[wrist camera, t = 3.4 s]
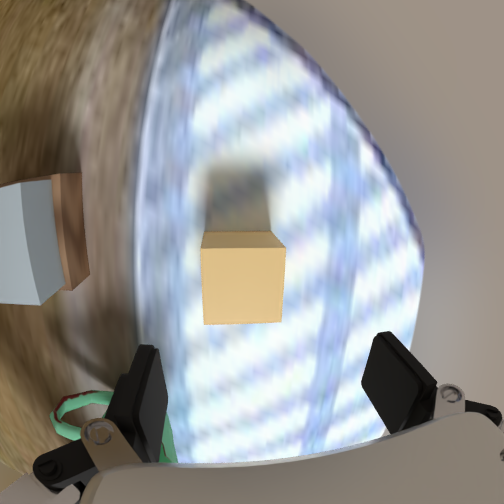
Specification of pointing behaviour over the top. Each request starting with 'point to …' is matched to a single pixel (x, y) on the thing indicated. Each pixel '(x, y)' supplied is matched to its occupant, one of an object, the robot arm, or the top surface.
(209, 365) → the top surface
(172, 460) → the mug
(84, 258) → the walnut block
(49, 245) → the slate block
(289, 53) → the top surface
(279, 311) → the ochre cube
